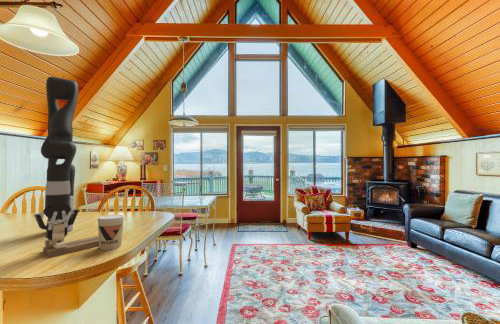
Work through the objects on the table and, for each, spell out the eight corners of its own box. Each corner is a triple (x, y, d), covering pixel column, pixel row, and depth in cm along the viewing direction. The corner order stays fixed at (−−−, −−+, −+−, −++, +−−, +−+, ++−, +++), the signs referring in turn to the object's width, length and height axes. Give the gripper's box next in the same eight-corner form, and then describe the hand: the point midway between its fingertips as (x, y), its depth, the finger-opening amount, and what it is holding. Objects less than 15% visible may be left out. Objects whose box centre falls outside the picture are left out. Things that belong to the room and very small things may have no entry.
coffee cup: (94, 251, 92) (95, 219, 93) (99, 244, 101) (99, 215, 101) (122, 248, 96) (123, 218, 96) (124, 242, 105) (125, 213, 105)
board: (42, 252, 91) (43, 247, 91) (100, 239, 107) (100, 235, 107) (50, 257, 86) (50, 251, 86) (109, 243, 103) (109, 238, 103)
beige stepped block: (44, 249, 93) (45, 223, 93) (59, 245, 97) (60, 221, 97) (54, 254, 88) (54, 227, 88) (69, 250, 92) (70, 224, 92)
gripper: (75, 191, 101) (74, 232, 101) (30, 193, 89) (29, 241, 89) (83, 192, 97) (82, 235, 96) (37, 195, 85) (36, 244, 85)
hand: (56, 238), depth 93 cm, fingers closed on beige stepped block, 3 cm apart
